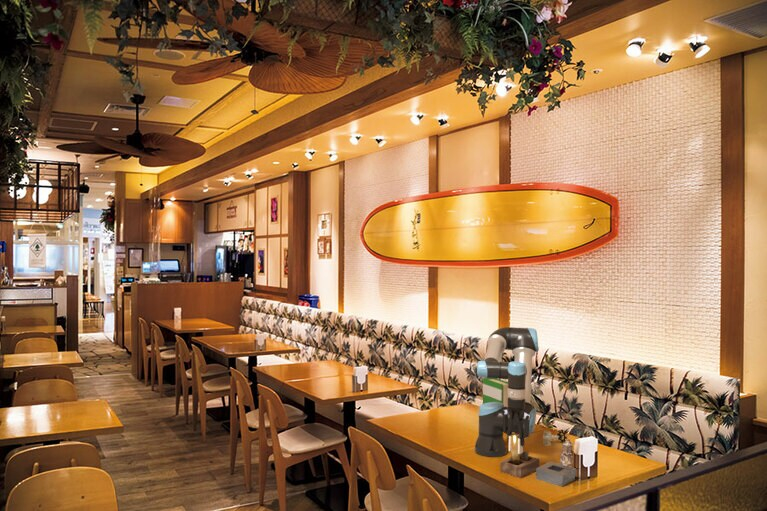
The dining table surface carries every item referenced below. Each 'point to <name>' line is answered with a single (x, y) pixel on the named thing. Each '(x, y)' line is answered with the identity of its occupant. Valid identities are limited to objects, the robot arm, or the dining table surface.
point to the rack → (525, 467)
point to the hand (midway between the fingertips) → (515, 451)
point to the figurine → (567, 454)
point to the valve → (553, 437)
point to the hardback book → (495, 391)
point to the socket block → (555, 473)
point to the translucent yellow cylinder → (515, 449)
